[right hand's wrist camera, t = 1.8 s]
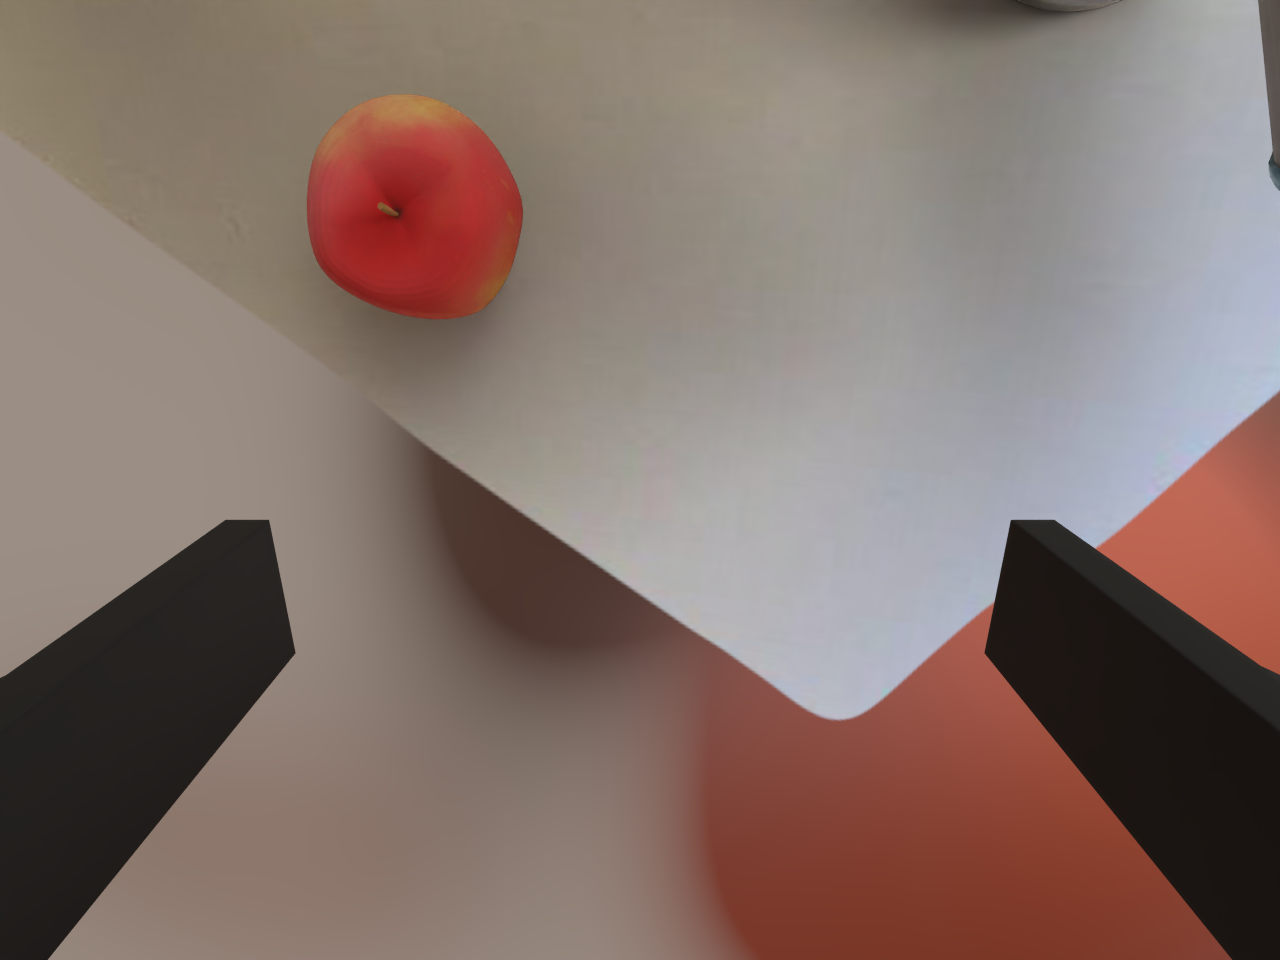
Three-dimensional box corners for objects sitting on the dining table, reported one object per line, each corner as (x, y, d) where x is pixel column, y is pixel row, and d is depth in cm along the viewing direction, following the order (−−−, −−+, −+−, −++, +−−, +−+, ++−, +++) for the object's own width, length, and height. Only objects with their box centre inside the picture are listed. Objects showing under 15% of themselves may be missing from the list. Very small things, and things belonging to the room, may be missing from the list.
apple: (574, 215, 37) (556, 209, 28) (462, 345, 39) (410, 381, 30) (430, 74, 35) (357, 15, 25) (320, 221, 37) (215, 217, 28)
